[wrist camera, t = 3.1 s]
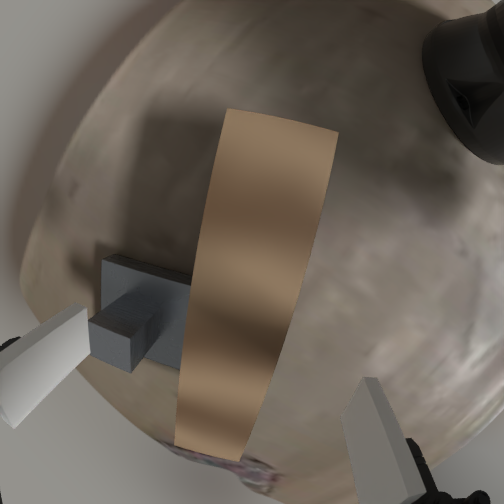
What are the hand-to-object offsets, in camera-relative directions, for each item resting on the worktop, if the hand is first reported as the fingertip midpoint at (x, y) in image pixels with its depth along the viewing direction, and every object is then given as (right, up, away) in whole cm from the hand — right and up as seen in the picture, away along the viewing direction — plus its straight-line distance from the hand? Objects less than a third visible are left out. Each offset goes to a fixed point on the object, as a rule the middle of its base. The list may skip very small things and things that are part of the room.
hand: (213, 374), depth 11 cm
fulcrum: (-7, 0, +11) cm, 14 cm away
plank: (+1, +2, +6) cm, 7 cm away
